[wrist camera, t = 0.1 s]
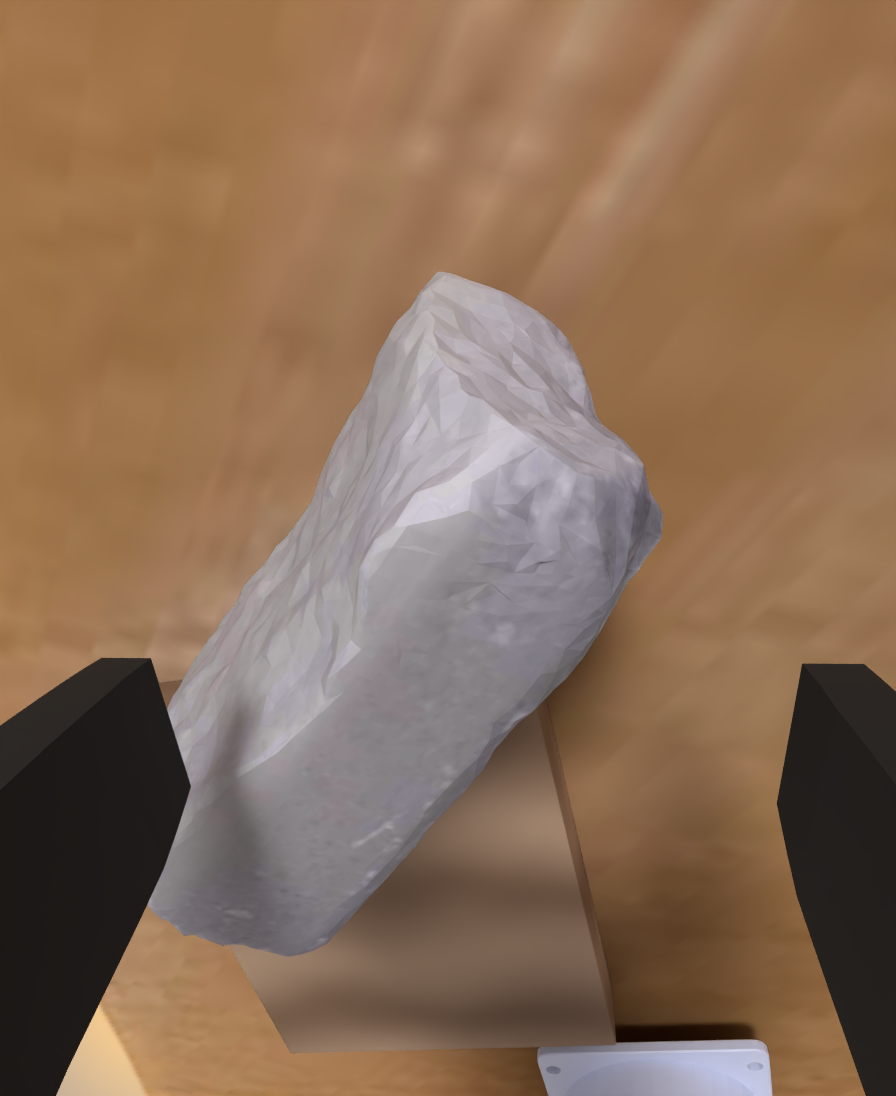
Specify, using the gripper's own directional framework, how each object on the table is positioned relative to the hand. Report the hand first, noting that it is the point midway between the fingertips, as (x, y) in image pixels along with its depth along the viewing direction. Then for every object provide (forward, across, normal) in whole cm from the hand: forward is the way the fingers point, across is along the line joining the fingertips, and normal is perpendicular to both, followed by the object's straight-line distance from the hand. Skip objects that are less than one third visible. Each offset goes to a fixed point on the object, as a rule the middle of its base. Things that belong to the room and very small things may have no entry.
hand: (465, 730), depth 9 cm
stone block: (+11, +2, +2) cm, 12 cm away
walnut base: (+11, +4, +16) cm, 20 cm away
